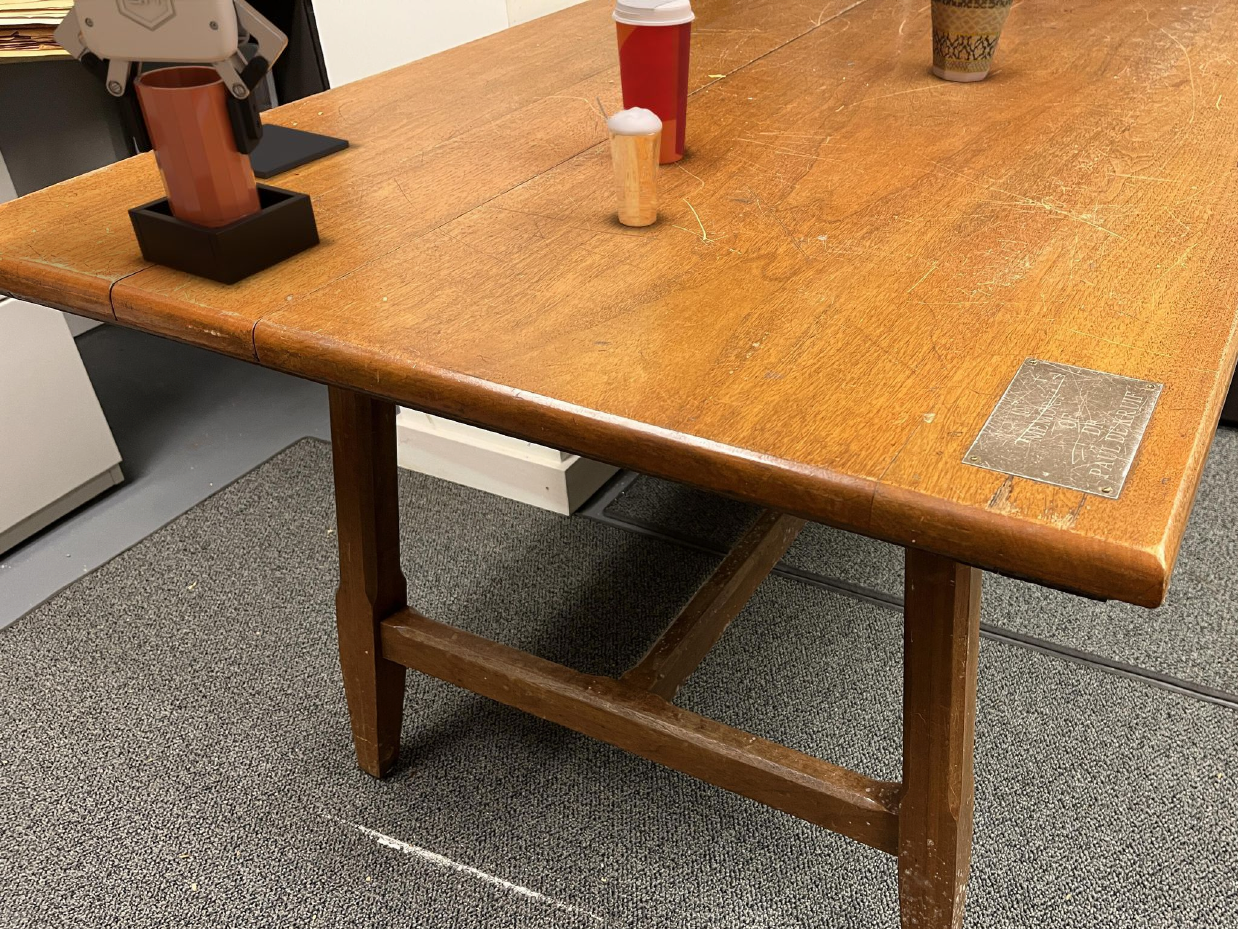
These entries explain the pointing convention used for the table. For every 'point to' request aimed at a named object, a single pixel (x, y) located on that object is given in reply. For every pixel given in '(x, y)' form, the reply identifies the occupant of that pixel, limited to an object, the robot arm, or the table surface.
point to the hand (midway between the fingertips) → (200, 145)
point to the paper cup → (656, 64)
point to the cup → (196, 145)
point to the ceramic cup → (966, 36)
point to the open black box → (228, 236)
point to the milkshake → (635, 163)
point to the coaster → (290, 149)
